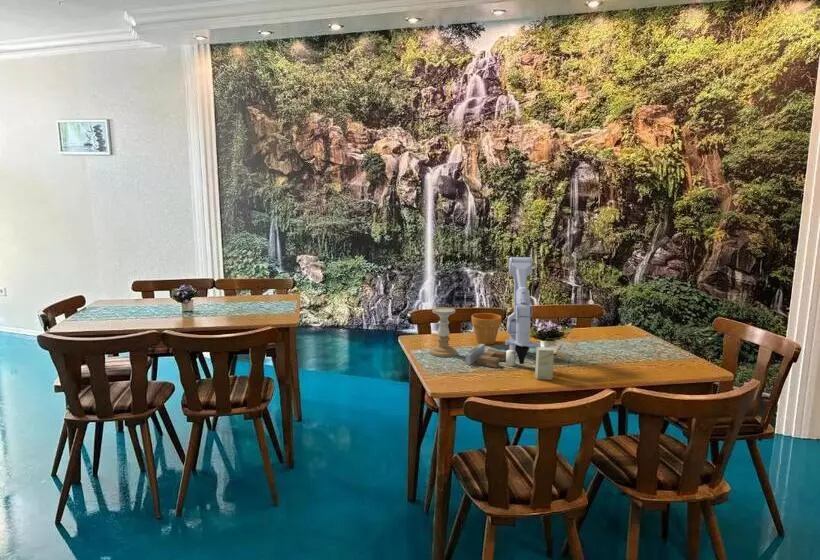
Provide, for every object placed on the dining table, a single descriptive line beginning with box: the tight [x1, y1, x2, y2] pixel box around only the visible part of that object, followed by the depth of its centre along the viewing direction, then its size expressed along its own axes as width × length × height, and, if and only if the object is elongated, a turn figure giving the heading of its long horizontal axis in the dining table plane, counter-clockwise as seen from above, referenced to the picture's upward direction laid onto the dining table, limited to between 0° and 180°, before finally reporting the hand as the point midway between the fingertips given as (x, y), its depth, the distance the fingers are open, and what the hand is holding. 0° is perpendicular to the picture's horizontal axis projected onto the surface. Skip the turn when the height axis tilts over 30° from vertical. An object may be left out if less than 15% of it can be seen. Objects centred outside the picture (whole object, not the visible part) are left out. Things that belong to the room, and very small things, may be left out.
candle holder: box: [429, 306, 458, 358], centre depth 267 cm, size 12×12×20 cm
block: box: [477, 349, 506, 368], centre depth 256 cm, size 14×8×3 cm, turn 153°
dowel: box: [505, 349, 517, 367], centre depth 252 cm, size 4×4×6 cm
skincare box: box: [534, 346, 555, 381], centre depth 235 cm, size 6×4×12 cm
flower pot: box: [471, 312, 502, 346], centre depth 285 cm, size 14×14×13 cm
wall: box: [465, 343, 486, 366], centre depth 260 cm, size 18×2×4 cm, turn 153°
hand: (521, 363), depth 250 cm, fingers closed
